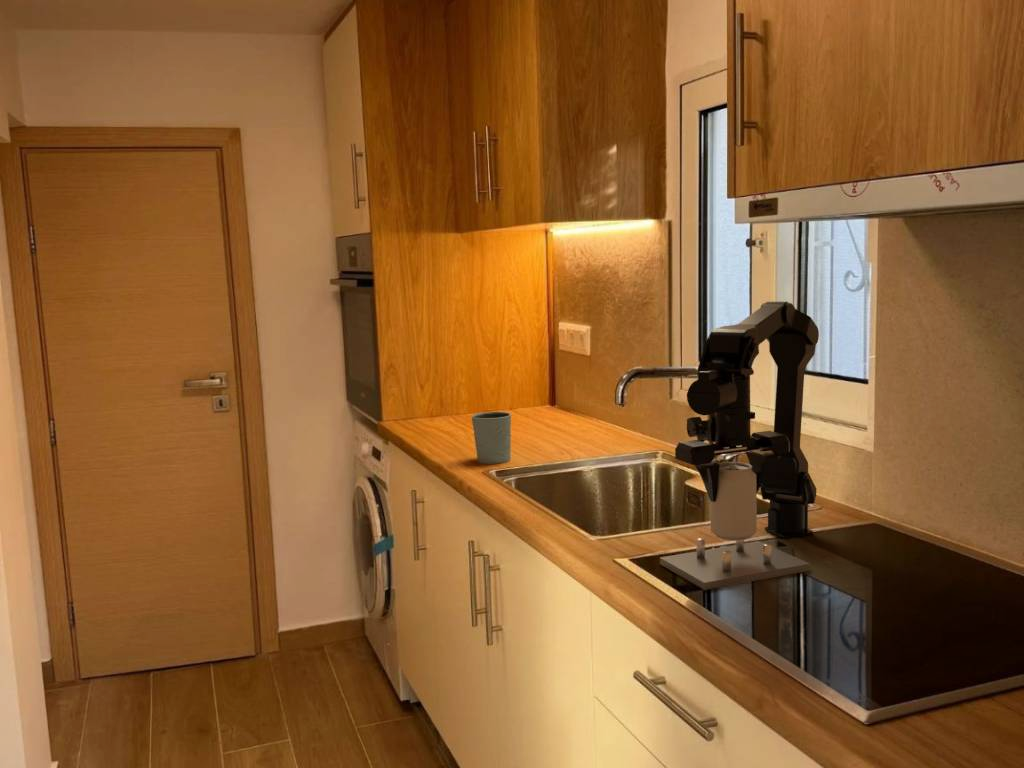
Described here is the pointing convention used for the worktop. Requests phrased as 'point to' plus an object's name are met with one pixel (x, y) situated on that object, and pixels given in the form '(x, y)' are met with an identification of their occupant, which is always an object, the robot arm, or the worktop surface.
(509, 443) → the grey-blue cup
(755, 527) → the can
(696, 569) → the pin tray
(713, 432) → the robot arm
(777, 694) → the worktop surface
